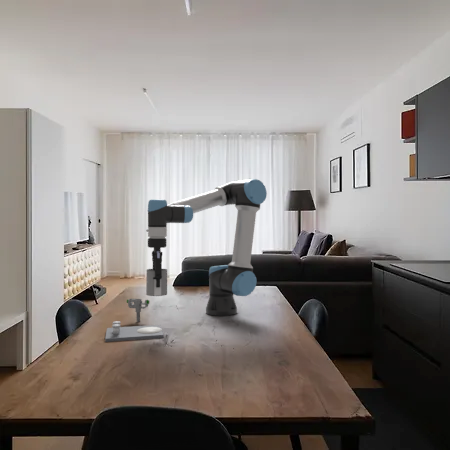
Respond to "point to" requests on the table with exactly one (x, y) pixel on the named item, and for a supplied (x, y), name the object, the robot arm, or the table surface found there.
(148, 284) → the cup
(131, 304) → the mechanical component
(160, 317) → the table surface
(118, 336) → the board
